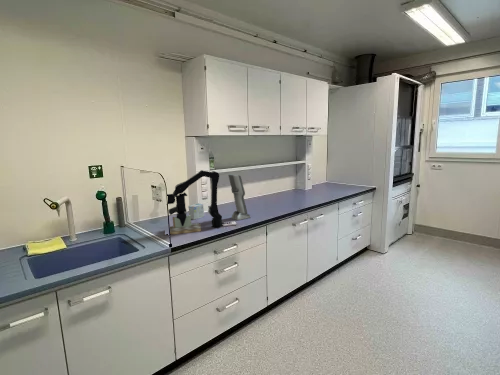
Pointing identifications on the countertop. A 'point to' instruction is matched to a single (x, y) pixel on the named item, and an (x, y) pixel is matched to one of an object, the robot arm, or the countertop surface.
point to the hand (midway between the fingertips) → (182, 224)
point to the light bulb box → (196, 211)
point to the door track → (185, 229)
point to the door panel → (178, 224)
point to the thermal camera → (238, 197)
